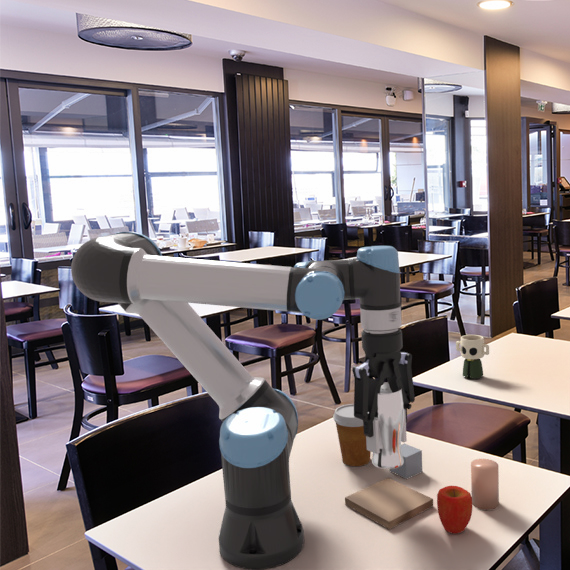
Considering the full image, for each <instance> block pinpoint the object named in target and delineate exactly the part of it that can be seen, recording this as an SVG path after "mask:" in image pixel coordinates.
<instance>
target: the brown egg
mask: <svg viewBox="0 0 570 570" xmlns="http://www.w3.org/2000/svg"><path fill="white" fill-rule="evenodd" d="M499 473H500V472H499V463H498V462H497V461H495V460H494V459H493V460H492V459H489V458H477V459H474V460H472V461H471V462H470V480H471V481H470V482H471V484H470V485H471V489H470V490H471V493H470V494H471V497H472V507H475V508H477V510H478V509H479V510H482V511H493V510H496V509H498V508H499V506H500V495H499V493H500V492H499V491H500V489H499V485H500V482H499V481H500V480H499V479H500V478H499V477H500V476H499Z"/></svg>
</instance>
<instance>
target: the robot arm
mask: <svg viewBox="0 0 570 570" xmlns="http://www.w3.org/2000/svg"><path fill="white" fill-rule="evenodd" d="M356 252H357V253H356V258H349V259H334V260H332V259H330V260H314V259H313V260H308V261H301V262H297V263H296V264H295V265H294V266H293V267H292V266H282V265H272V264H259V263H248V262H246V263H245V262H235V261H223V260H212V259H211V260H210V259H199V258H198V259H197V258H187V257H186V258H185V257H175V256H174V257H173V256H165V255H164V256H163V254H162V252H161V249H160V247H159V246H158V245H157V244H156V242H155V241H154V240H153V239H152V238H150V237H148V236H147V235H145V234H143V233H140V232H139V233H138V232H133V231H120V232H116V233H113V234H111V235H105V236H97V237H95V238H91V239H89V240H87V241H86V242H84V243H83V244H82V245H80V247H79V248H78V249H77V250H76V251H75V253H74V254H73V257H72V261H71V267H70V272H71V278H72V281H73V283H74V285H75V286H76V288H77V290H78V291H80V293H82V295H84V296H85V297H87V298H89V299H91V300H93V301H97V302H102V303H113V304H114V303H115V304H118V305H119V306H120V307H121V308H122V309H123V311H125V313H127V314H136V315H139V317H141V319H142V320H143V321H144V323H146V325H148V327H149V328H150V329H151V330H152V331H153V332H154V334H155V335H156V336H157V337H158V338H159V339H160V340H161V342H163V344H164V345H165V346H166V347H167V348H168V350H169V351H170V352H171V353H172V354H173V355H174V356H175V358H177V360H178V361H179V362H180V364H181V365H182V366H184V368H185V369H186V370H187V371H188V372H189V373H190V374H191V375H192V377H193V378H194V379H195V380H196V382H197V383H198V384H199V385H201V387H202V388H203V389H204V391H206V392H207V394H208V395H209V396H210V397H211V398H212V399H213V401H214V402H215V403H216V404H217V405H218V408H219V414H218V418H219V420H221V422H222V423H221V425H220V429H219V440H218V443H219V450H220V454H221V458H220V459H221V467H222V477H223V479H222V480H223V489H224V491H223V493H224V498H225V499H224V501H225V508H224V513H223V516H222V521H221V526H220V530H219V533H218V547H219V552H220V555H221V557H222V558H223V559H224V561H226V562H227V563H229V564H231V565H233V566H235V567H239V568H242V569H248V570H249V569H250V570H262V569H269V568H274V567H275V568H276V567H278V566H281V565H283V564H285V563H287V562H289V561H292V560H293V559H294V558H295V557H296V556H297V555H299V553H300V552H301V551H302V549H303V547H304V544H305V542H304V541H305V537H304V528H303V524H302V522H301V519H300V516H299V515H298V513H297V510H296V508H295V506H294V503H293V501H292V492H291V478H290V477H291V475H290V458H291V457H290V456H291V452H292V448H293V445H294V441H295V439H296V437H297V434H298V429H299V415H298V411H297V407H296V404H295V402H294V401H293V400H292V398H291V397H290V396H289V395H288V394H287V393H285V392H284V391H282V390H280V389H277V388H273V387H272V386H271V385H270V384H269V382H268V381H267V380H266V379H265V378H264V377H256V376H252V375H251V373H250V372H249V370H247V369H246V368H245V367H244V366H243V365H242V363H241V361H239V360H238V358H237V357H236V356H235V355H234V354H233V353H232V352H231V350H230V349H229V348H228V347H227V346H226V345H225V344H224V343H223V342H222V340H221V339H220V338H219V337H218V336H217V335H216V334H215V332H214V331H213V330H212V329H211V327H209V325H207V323H206V322H205V321H204V319H203V318H202V317H201V316H200V315H199V313H197V312H196V310H195V309H194V308H193V307H192V306H191V304H201V305H211V306H223V307H234V308H243V309H257V310H267V311H279V312H289V313H294V314H295V313H297V314H303V315H304V316H306V317H307V318H310V319H312V320H317V321H318V320H319V321H321V320H326V319H328V318H330V317H332V316H333V315H335V313H337V312H338V310H339V309H340V308H341V306H342V304H343V302H344V301H345V300H359V307H360V308H359V311H360V328H361V329H362V331H361V348H362V350H363V352H364V354H365V355H364V356H365V357H364V359H363V363H362V364H360V365H358V366H357V365H353V367H352V368H351V369H352V374H353V378H354V390H353V393H354V394H353V404H354V417H356V418H358V419H361V420H363V428H364V435H365V436H366V445H367V450H368V451H371V453H372V454H373V453H375V454H378V453H380V448H379V428H378V420H377V419H375V414H376V409H377V393H380V388H381V385H383V383H385V379H387V383H389V386H390V389H391V390H392V392H396V391H398V390H400V389H399V386H401V387H402V394H403V402H404V422H403V429H402V436H401V443H406V442H407V441H408V440H407V423H408V410H411V408H412V404H410V403H414V402H415V399H416V398H415V390H414V389H415V388H414V380H413V373H412V372H413V371H412V362H413V355H412V354H411V353H408V352H405V351H401V350H402V349H403V346H404V345H403V330H402V329H400V328H401V327H402V304H401V302H402V301H401V270H400V261H399V252H398V250H397V249H396V248H395V247H394V246H392V245H371V246H364V247H360V248H358V250H357V251H356ZM189 303H190V304H189ZM368 412H369V413H368Z"/></svg>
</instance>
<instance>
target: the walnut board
mask: <svg viewBox="0 0 570 570" xmlns="http://www.w3.org/2000/svg"><path fill="white" fill-rule="evenodd" d="M344 501H345V502H344V503H345V504H344V505H345V506H347V507H349V508H351V509H352V510H354V511H356V512H358V513H360V514H361V515H362V516H364V517H367V518H369V519H370V520H372V521H374V522H375V523H377V524H379V525H381V526H382V527H384V528H385V529H388V530H391V529H393V528H395V527H397V526H399V525H400V524H403V523H404V522H407V521H408V520H410V519H412V518H414V517H415V516H418V515H420V514H421V513H424V512H425V511H426V510H428V509H430V508H432V507H434V498H432V497H431V496H428V495H426V494H424V493H421V492H419V491H417V490H415V489H413V488H411V487H409V486H406V485H404V484H403V483H401V482H398V481H396V480H394V479H392V478H389V477H386V478H384V479H382V480H380V481H378V482H376V483H374V484H371V485H369V486H367V487H365V488H363V489H361V490H359V491H357V492H354V493H352V494H349V495H348V496H346V497H344Z"/></svg>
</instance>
